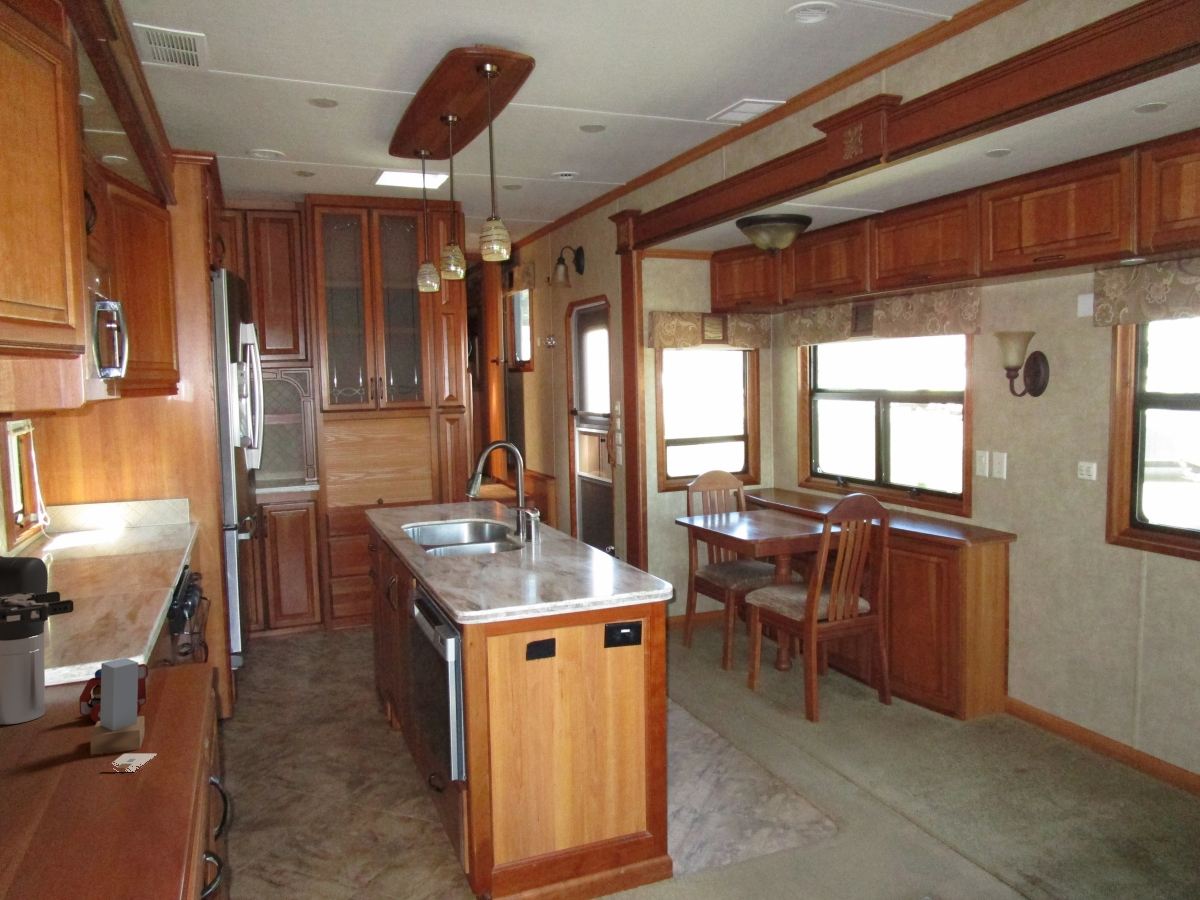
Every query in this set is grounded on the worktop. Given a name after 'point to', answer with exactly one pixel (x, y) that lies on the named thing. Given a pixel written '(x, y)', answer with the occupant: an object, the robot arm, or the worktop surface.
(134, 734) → the base block
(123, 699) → the pillar
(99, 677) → the toy fire truck
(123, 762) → the page
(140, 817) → the worktop surface
